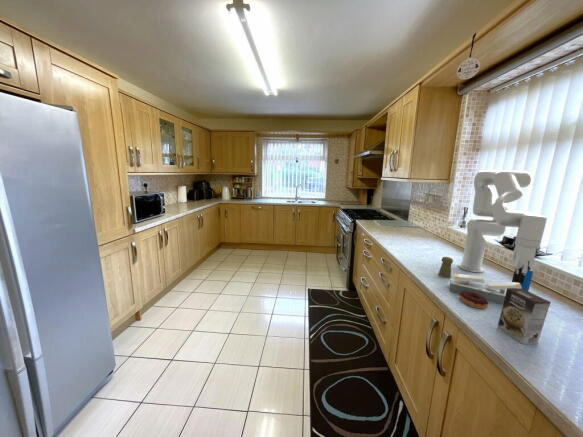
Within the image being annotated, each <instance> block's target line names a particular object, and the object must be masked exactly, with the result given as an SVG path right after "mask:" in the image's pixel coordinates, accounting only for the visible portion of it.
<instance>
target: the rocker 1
mask: <svg viewBox="0 0 583 437" xmlns="http://www.w3.org/2000/svg"><path fill="white" fill-rule="evenodd" d="M453 277H454V279H455V280H460V281H469V282H472V283H478V284H480V283H481V284H484V281H485V280H484V277H483V276H482V275H475V274H474V275H471V274H464V273H463V274H461V273H459V274H458V273H454V276H453Z"/></svg>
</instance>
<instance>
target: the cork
mask: <svg viewBox="0 0 583 437" xmlns="http://www.w3.org/2000/svg"><path fill="white" fill-rule="evenodd" d="M441 262H442V263H441V266H440V268H439V271H438V276H439V277H441V278H446V279H451V278H452V264H453V263H454V259H453V258H452V257H449V256H442V258H441Z"/></svg>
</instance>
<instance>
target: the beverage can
mask: <svg viewBox="0 0 583 437" xmlns="http://www.w3.org/2000/svg"><path fill="white" fill-rule="evenodd" d="M533 275H534V270H533V268H532V270H530V271H528V270H527V273H526V274H525V278H524V282H523V284H521V283H519V284H520V285H521V287H522V289H524V290H526V291H528V292H530V291H529V290H530V287H531V283H532V279H533ZM511 282H513V280H512V279H511Z"/></svg>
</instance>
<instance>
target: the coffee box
mask: <svg viewBox="0 0 583 437" xmlns="http://www.w3.org/2000/svg"><path fill="white" fill-rule="evenodd" d="M550 306H551V301H549V300H547V299H545V298H543V297H541V296H538V295H537V294H535V293H532V292H530V291H526V290H524V289H522V288H520V289H517V288H507V291H506V295H505V299H504V303H503V305H502V308H501V312H500V315H499V319H498V324H497V328H499V329H500V330H501V331H503V332H504V333H506V334H507V335H509V336H510V337H512V338H513V339H515V341H517V342H518V343H520V344H522V345H534V344H535V345H537V344H539V340H540V337H541V334H542V330H543V327H544V324H545V322H546V318H547V314H548V312H549V308H550Z"/></svg>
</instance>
